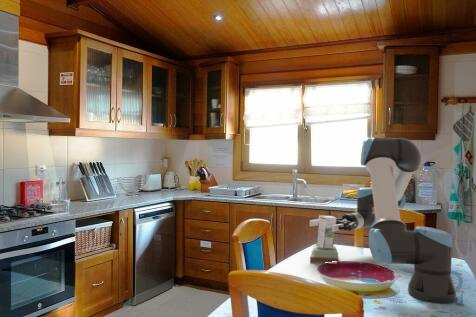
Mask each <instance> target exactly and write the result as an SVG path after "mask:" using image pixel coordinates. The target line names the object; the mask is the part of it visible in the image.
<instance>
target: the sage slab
mask: <svg viewBox="0 0 476 317" xmlns="http://www.w3.org/2000/svg"><path fill="white" fill-rule="evenodd" d="M312 247H313V250H312V251H313V253H314V257H318V258H336V259H337V257H338V258H339V251H338V249H337V247H336V246H333V249H322V248H320V247H317V246H316V244H315V245H313V246H312Z"/></svg>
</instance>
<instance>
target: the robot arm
mask: <svg viewBox="0 0 476 317" xmlns="http://www.w3.org/2000/svg"><path fill="white" fill-rule="evenodd" d="M421 162H422V155H421V152H420V149H419V148H418V146H417V145H416V144H415V143H414V142H412V141H411V140H409V139H407V138H404V137H375V136H373V137H367V138H365V139H364V140H363V142H362V147H361V154H360V165H361V166H365V170H366V172H368V173H369V175H370V183H371V187H359V188H358V189H357V195H356V196H357V197H356V212H352V213H345V214H343V215H341V217H337V218H336V217H335V218H336V225H332V232H335V233H336V232H340V231H347V232H348V231H349V232H350V231H353V230H354V231H356V230H357V229H364V228H370V227H371V229H369V232H368V245H369V246H368V247H369V250H370V254H371V257H372V258H373V259H374V261H375V262H377V263H382V264H387V265H389V264H391V265H392V264H393V265H394V264H395V265H399V264H400V265H413V266H414V267H413V272H412V275H411V278H410V280H409V283H408V286H407V293H408V294H409V295H410V296H412V297H413V298H416V299H418V300H421V301H426V302H429V303H430V302H431V303H437V304H448V303H454V302H455V301H456V300H457V290H456V288H455V285H454V282H453V279H452V261H453V260H452V255H453V254H452V253H453V238H452V235H451V234H450V233H449V232H447V231H444V230H442V229H437V228H434V227H430V226H429V227H428V226H422V225H421V226H420V225H417V226H415V228H414V230H407V224H406V223H405V222H403V221H402V219H401V213H400V209H404V207H406V196H405V192H406V189H407V188H408V186H409V183H410V181H411V179H412V177H413V174H414V173H415V172H417V170H419V169H420V168H419V167H420V165H421ZM318 221H319V217H317V218H316V219H311V220H309V227H316V226H317V227H318Z"/></svg>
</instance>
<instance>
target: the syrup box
mask: <svg viewBox="0 0 476 317" xmlns="http://www.w3.org/2000/svg"><path fill="white" fill-rule="evenodd" d="M318 218H319V221H318V225H317V230H316V243H315V245H316V246H317V247H320V248H322V249H333V246H334V245H335V235H336V231H335V232H332V225H336V217H335V216H333V215H321V214H320V215H318Z"/></svg>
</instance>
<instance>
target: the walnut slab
mask: <svg viewBox="0 0 476 317" xmlns="http://www.w3.org/2000/svg"><path fill="white" fill-rule="evenodd" d="M309 256H310V257H309V258H310V259H309V263H310V264H311V263H312V264H321V263H325V262H332V261H338V262H339V256H338V257H337V259H336V258H318V257H314V253H313V250H312V251H311V254H310V255H309Z"/></svg>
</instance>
